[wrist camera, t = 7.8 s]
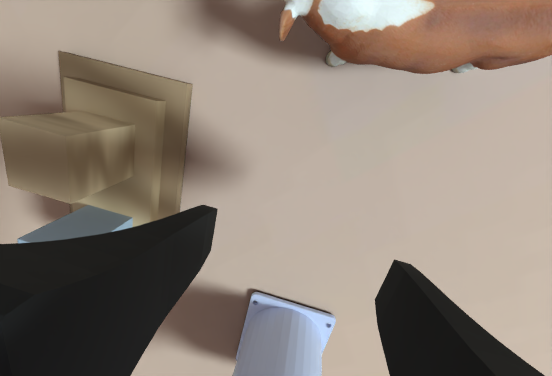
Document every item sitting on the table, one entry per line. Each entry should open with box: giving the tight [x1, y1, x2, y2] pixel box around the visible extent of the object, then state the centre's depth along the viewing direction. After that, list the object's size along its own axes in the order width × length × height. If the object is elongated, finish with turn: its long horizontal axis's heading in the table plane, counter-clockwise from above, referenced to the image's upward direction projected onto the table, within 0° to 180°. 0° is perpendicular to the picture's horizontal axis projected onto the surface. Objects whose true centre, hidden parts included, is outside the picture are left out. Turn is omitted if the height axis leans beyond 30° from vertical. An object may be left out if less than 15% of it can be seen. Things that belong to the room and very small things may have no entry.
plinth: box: [58, 51, 192, 227], centre depth 22 cm, size 19×10×2 cm, turn 167°
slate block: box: [18, 205, 133, 243], centre depth 20 cm, size 4×4×6 cm
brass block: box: [0, 111, 135, 204], centre depth 17 cm, size 4×4×6 cm
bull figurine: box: [279, 0, 552, 74], centre depth 13 cm, size 4×13×8 cm, turn 82°
